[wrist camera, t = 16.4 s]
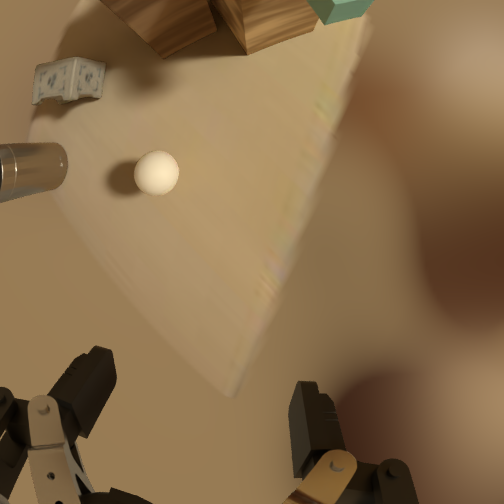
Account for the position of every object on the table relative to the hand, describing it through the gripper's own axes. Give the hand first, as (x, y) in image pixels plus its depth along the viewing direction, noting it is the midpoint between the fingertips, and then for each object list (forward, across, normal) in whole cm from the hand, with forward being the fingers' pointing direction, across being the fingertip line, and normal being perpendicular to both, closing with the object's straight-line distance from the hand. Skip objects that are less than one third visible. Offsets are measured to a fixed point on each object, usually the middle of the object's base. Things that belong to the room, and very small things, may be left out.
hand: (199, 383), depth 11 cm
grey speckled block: (+36, +32, -21) cm, 53 cm away
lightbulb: (+36, +12, -6) cm, 39 cm away
